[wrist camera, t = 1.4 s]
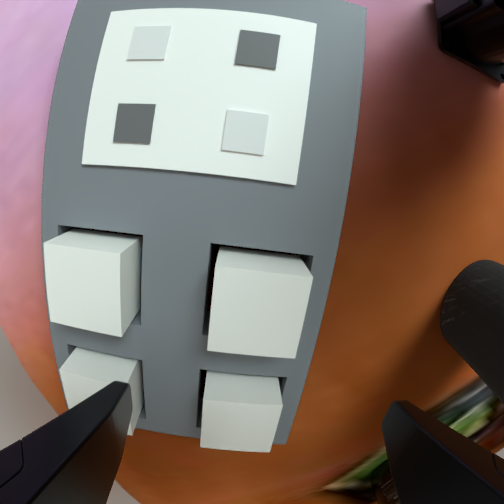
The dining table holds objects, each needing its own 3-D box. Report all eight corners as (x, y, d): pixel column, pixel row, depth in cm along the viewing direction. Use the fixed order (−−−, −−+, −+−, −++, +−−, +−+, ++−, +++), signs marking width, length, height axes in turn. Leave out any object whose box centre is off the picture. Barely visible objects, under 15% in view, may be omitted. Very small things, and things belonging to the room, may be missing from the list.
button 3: (299, 255, 16) (313, 277, 13) (286, 326, 17) (294, 358, 14) (219, 246, 16) (215, 265, 13) (212, 318, 17) (207, 350, 14)
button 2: (141, 353, 17) (125, 386, 14) (143, 402, 18) (132, 435, 15) (81, 341, 17) (59, 369, 14) (89, 389, 18) (71, 419, 15)
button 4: (276, 370, 18) (282, 405, 15) (265, 416, 19) (269, 452, 16) (208, 363, 18) (203, 399, 15) (204, 411, 19) (200, 447, 16)
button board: (348, 27, 14) (368, 5, 11) (281, 415, 21) (286, 447, 18) (101, 9, 13) (79, -13, 10) (82, 385, 20) (66, 412, 17)
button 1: (142, 236, 16) (120, 253, 12) (140, 308, 17) (121, 337, 13) (74, 228, 15) (43, 242, 12) (76, 296, 16) (50, 321, 13)
